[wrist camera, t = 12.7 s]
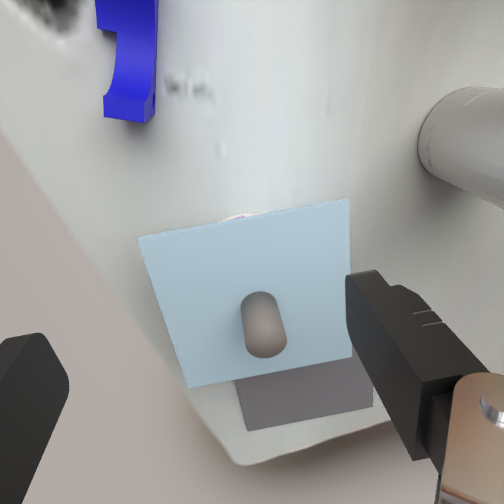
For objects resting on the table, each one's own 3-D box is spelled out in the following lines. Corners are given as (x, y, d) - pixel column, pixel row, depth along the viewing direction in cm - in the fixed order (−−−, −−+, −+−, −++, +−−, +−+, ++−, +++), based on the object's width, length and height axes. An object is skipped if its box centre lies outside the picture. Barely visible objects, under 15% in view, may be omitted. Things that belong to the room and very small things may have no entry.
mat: (373, 303, 46) (374, 305, 45) (371, 403, 55) (372, 406, 55) (223, 332, 45) (223, 334, 45) (247, 428, 55) (247, 431, 54)
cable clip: (99, -62, 27) (72, -94, 21) (160, -48, 27) (148, -76, 22) (104, 106, 32) (83, 113, 27) (154, 114, 33) (144, 122, 27)
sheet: (345, 198, 30) (373, 225, 25) (349, 351, 39) (370, 394, 33) (138, 236, 30) (123, 271, 25) (188, 382, 38) (185, 431, 33)
